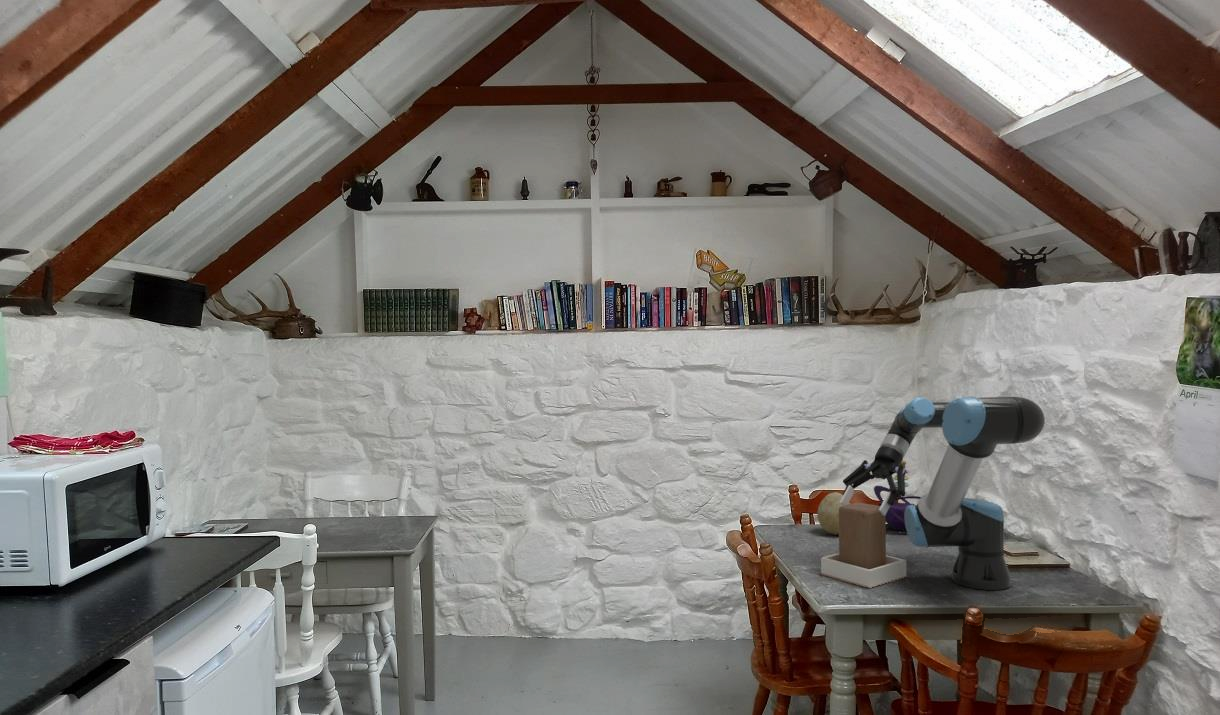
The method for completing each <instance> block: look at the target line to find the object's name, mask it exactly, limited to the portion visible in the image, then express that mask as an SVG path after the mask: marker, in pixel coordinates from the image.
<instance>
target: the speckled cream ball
mask: <svg viewBox="0 0 1220 715" xmlns="http://www.w3.org/2000/svg"><path fill="white" fill-rule="evenodd" d="M842 497H843V493H840V492H837V491H835V492H830V493H828V494H827V495H825V497H823V499H822V500H821V501H820V503H819V505H818V509H817V521H818V523H819V525H820V527H821V528H822V529H823V530H824V531H826V533H828V534H830V535H834V536H839V507H841V506H842V505H841V504H840V501H841V499H842ZM849 504H852V503H851V500H850V501H849V503H848V505H849Z"/></svg>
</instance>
